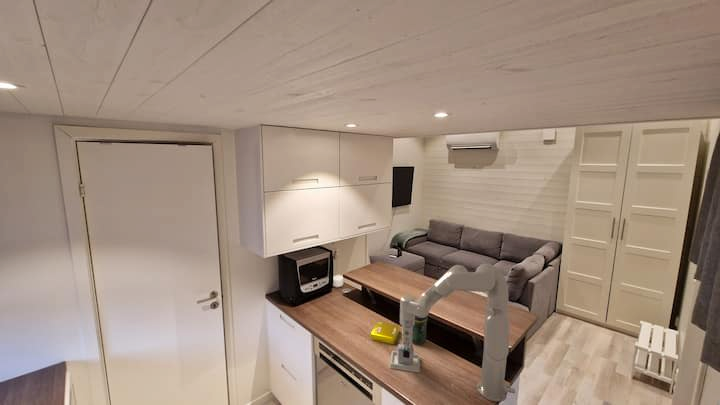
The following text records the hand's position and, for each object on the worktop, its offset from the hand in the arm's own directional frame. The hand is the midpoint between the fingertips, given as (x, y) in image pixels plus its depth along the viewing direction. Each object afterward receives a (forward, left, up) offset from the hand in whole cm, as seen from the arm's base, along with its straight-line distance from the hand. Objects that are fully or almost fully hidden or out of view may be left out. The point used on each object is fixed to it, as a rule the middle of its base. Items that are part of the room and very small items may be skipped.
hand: (406, 351), depth 152 cm
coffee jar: (-6, -21, -7) cm, 23 cm away
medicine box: (+1, 0, -6) cm, 6 cm away
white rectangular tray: (+1, 0, -7) cm, 7 cm away
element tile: (+13, -22, -7) cm, 27 cm away
